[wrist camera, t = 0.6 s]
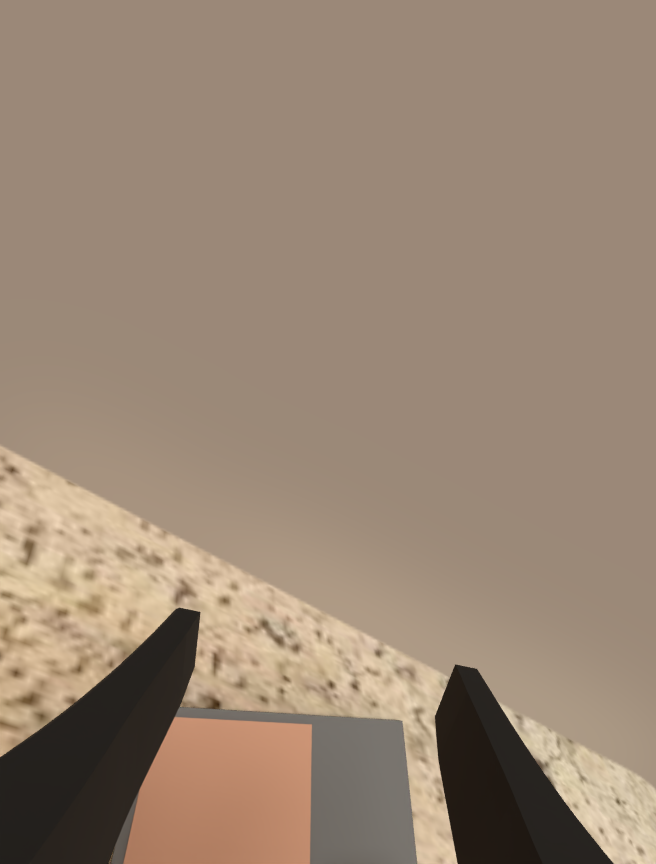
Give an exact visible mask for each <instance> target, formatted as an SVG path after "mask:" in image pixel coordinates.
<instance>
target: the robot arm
mask: <svg viewBox="0 0 656 864" xmlns="http://www.w3.org/2000/svg"><path fill="white" fill-rule="evenodd" d="M199 621H200V612H198V611H193V610H188V609H183V608H178V609H176V610H174V611H173V613H172V614H171V615H170V616H169V617H168V618H167V619H166V620H165V621H164V622H163V623H162V624H161V625H160V626H159V627H158V628H157V629H156V631H155V632H154V633H153V634H152V635H151V636H150V637H149V638H147V639H146V640H145V641H144V642H143V643H142V644H141V645H140V646H139V647H138V648H137V649H136V650H135V651H134V652H133V653H132V654H131V655H130V656H129V657H128V658H126V659H125V660H124V661H123V662H122V663H121V664H120V665H119V666H118V667H117V668H116V669H115V670H113V671H112V672H111V673H110V674H109V675H108V676H106V677H105V678H104V679H103V680H102V681H101V682H99V683H98V684H97V685H96V686H95V687H94V688H92V689H91V690H90V691H89V692H88V693H87V694H85V695H84V696H83V697H82V698H80V699H79V700H78V701H77V702H75V703H74V704H73V705H72V706H70V707H69V708H68V709H67V710H65V711H64V712H63V713H61V714H60V715H59V716H58V717H56V718H55V719H54V720H52V721H51V722H49V723H48V724H47V725H45V726H44V727H43V728H41V729H40V730H39V731H37V732H36V733H34V734H33V735H32V736H30V737H29V738H27V739H26V740H24V741H23V742H22V743H20V744H19V745H17V746H16V747H14V748H13V749H12V750H10V751H9V752H7V753H6V754H4V755H3V756H1V757H0V864H108V862H109V860H110V857H111V855H112V852H113V850H114V847H115V845H116V842H117V840H118V837H119V835H120V832H121V830H122V827H123V825H124V822H125V820H126V818H127V816H128V813H129V811H130V809H131V807H132V804H133V802H134V800H135V798H136V796H137V794H138V792H139V790H140V788H141V786H142V783H143V781H144V779H145V777H146V775H147V773H148V771H149V769H150V767H151V765H152V763H153V761H154V759H155V757H156V755H157V753H158V751H159V749H160V746H161V744H162V742H163V740H164V738H165V736H166V734H167V732H168V730H169V728H170V726H171V724H172V722H173V720H174V717H175V715H176V713H177V711H178V709H179V707H180V704H181V702H182V699H183V697H184V694H185V691H186V689H187V686H188V683H189V680H190V678H191V675H192V672H193V669H194V667H195V658H196V648H197V639H198V630H199ZM435 723H436V737H437V749H438V759H439V765H440V771H441V777H442V782H443V788H444V793H445V799H446V804H447V809H448V814H449V820H450V825H451V830H452V836H453V841H454V846H455V852H456V857H457V862H458V864H613V862H612V861H611V860H610V859H609V858H608V856H607V855H606V854H605V853H604V852H603V850H602V849H601V848H600V847H599V845H598V844H597V843H596V842H595V840H594V839H593V838H592V837H591V835H590V834H589V833H588V832H587V830H586V829H585V828H584V827H583V825H582V824H581V823H580V821H579V820H578V819H577V818H576V816H575V815H574V814H573V812H572V811H571V810H570V808H569V807H568V806H567V804H566V803H565V802H564V800H563V799H562V798H561V796H560V795H559V794H558V792H557V791H556V789H555V788H554V787H553V785H552V784H551V782H550V781H549V780H548V778H547V777H546V775H545V774H544V773H543V771H542V770H541V768H540V767H539V765H538V764H537V762H536V761H535V759H534V758H533V756H532V755H531V753H530V752H529V750H528V749H527V747H526V746H525V744H524V743H523V741H522V740H521V738H520V737H519V735H518V734H517V732H516V731H515V729H514V727H513V726H512V724H511V723H510V721H509V720H508V718H507V716H506V715H505V713H504V712H503V710H502V708H501V707H500V705H499V704H498V702H497V700H496V699H495V697H494V696H493V694H492V692H491V691H490V689H489V687H488V686H487V684H486V683H485V681H484V679H483V678H482V676H481V675H480V673H479V672H478V670H477V669H474V668H470V667H465V666H460V665H455V667H454V669H453V672H452V674H451V677H450V679H449V682H448V684H447V687H446V690H445V692H444V695H443V697H442V700H441V702H440V705H439V707H438V710H437V713H436V715H435Z"/></svg>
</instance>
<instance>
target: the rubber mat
mask: <svg viewBox="0 0 656 864" xmlns="http://www.w3.org/2000/svg"><path fill="white" fill-rule="evenodd" d="M111 864H417V857H416V847H415V838H414V828H413V819H412V809H411V799H410V790H409V780H408V771H407V761H406V751H405V742H404V732H403V723H402V721H400V720H383V719H367V718H351V717H334V716H318V715H302V714H285V713H269V712H253V711H237V710H220V709H204V708H188V707H179V709H178V711H177V713H176V715H175V717H174V720H173V722H172V724H171V726H170V728H169V730H168V732H167V734H166V736H165V738H164V740H163V742H162V744H161V746H160V749H159V751H158V753H157V755H156V757H155V759H154V761H153V763H152V765H151V767H150V769H149V771H148V773H147V775H146V777H145V779H144V781H143V783H142V786H141V788H140V790H139V792H138V794H137V796H136V798H135V800H134V802H133V804H132V807H131V809H130V811H129V813H128V816H127V818H126V820H125V822H124V825H123V827H122V830H121V832H120V835H119V837H118V840H117V842H116V845H115V848H114V852H113V856H112V860H111Z"/></svg>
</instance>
